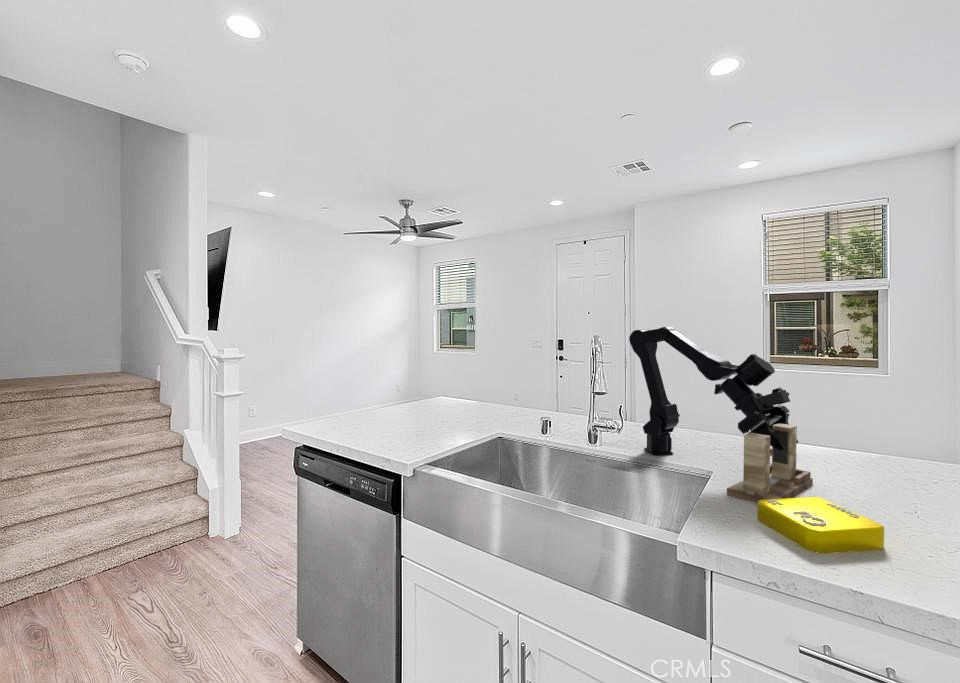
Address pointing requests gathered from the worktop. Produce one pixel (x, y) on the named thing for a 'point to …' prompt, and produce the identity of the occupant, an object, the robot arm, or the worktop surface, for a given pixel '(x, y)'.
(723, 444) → the worktop surface
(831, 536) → the element tile
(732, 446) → the worktop surface
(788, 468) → the tan wooden upright block
